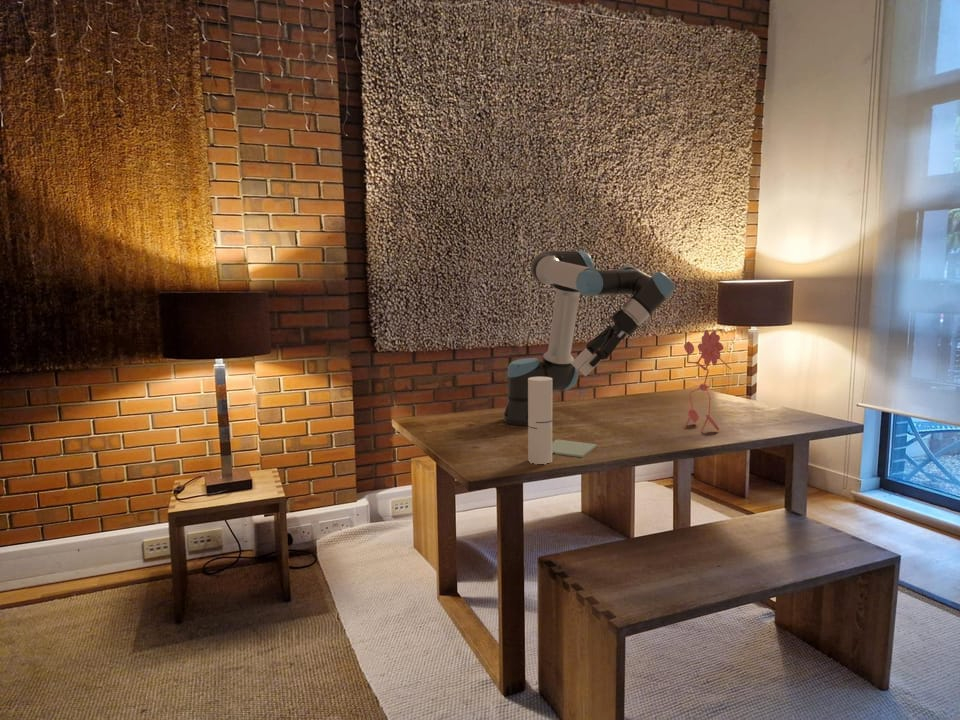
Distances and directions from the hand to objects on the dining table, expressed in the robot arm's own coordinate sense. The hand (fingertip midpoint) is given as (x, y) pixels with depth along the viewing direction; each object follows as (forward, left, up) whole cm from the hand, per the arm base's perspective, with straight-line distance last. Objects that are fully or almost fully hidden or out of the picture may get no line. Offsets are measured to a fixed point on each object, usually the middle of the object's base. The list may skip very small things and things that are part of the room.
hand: (577, 369), depth 186 cm
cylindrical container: (-10, -5, -28) cm, 30 cm away
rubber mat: (-7, +11, -27) cm, 30 cm away
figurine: (+28, +59, -28) cm, 71 cm away
